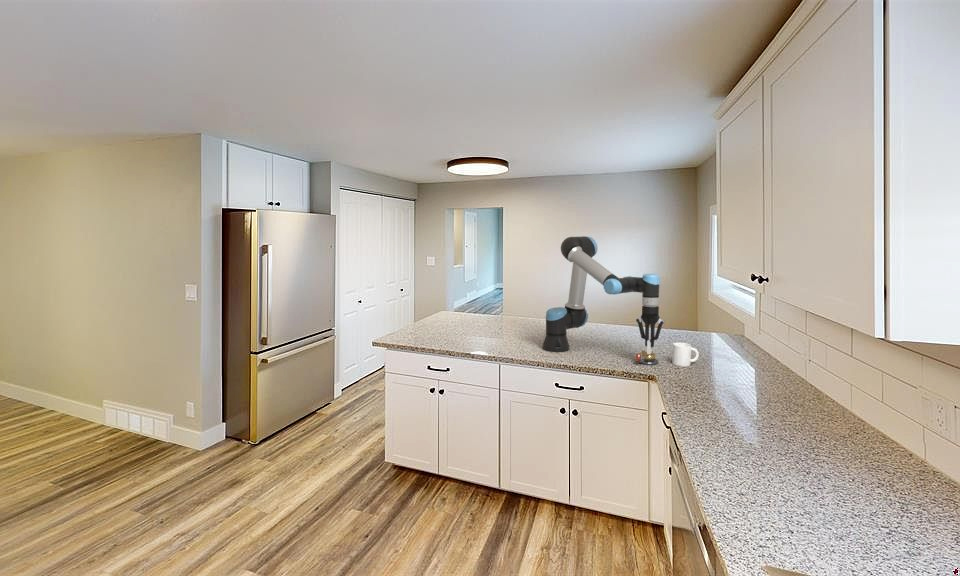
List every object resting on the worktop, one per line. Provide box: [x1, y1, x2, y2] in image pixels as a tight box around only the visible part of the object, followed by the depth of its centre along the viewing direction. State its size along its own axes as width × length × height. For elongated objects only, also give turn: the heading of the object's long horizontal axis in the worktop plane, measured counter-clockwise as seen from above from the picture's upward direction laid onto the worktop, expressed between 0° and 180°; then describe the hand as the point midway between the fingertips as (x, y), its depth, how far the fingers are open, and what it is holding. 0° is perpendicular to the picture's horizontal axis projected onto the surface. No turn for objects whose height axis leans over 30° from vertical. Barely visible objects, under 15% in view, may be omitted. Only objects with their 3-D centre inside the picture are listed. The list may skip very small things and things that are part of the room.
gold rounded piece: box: [635, 349, 656, 364], centre depth 212 cm, size 12×7×4 cm, turn 122°
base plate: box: [638, 358, 659, 366], centre depth 213 cm, size 10×10×1 cm
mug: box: [671, 342, 700, 368], centre depth 208 cm, size 12×8×10 cm
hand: (649, 353), depth 205 cm, fingers closed
